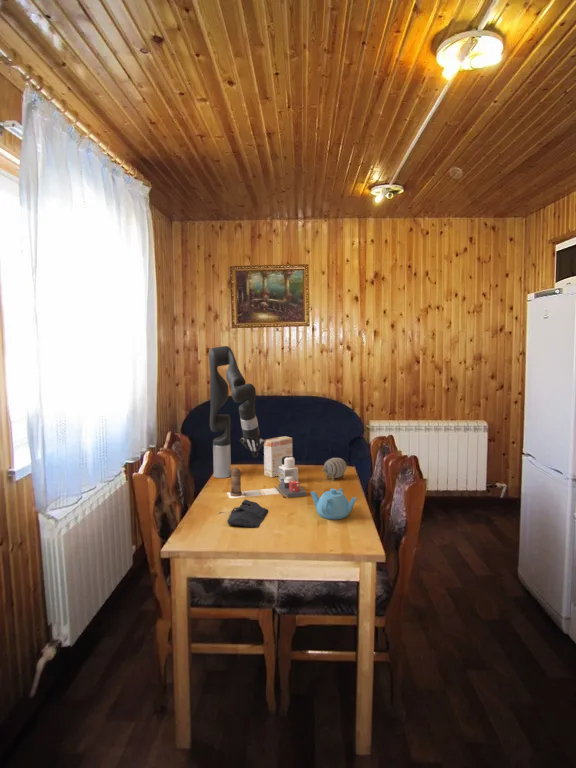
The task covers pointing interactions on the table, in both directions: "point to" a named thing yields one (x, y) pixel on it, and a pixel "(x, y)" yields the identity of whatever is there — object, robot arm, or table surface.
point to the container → (288, 468)
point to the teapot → (333, 504)
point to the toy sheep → (334, 468)
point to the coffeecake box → (276, 454)
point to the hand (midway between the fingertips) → (255, 456)
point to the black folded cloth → (247, 515)
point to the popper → (292, 488)
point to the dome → (289, 479)
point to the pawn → (235, 482)
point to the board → (258, 493)
